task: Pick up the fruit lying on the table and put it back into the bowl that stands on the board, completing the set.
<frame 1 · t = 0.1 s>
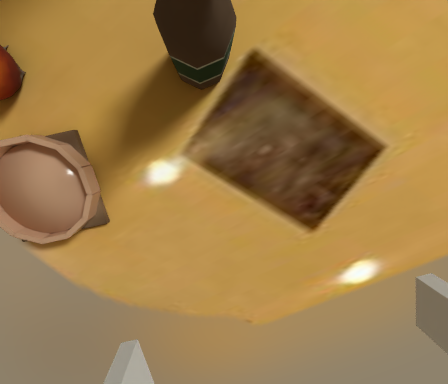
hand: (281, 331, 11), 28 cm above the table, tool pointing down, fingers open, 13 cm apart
beer bottle: (201, 62, 33), on the table
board: (51, 187, 36), on the table
bowl: (46, 188, 35), resting on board
fruit: (2, 73, 32), on the table
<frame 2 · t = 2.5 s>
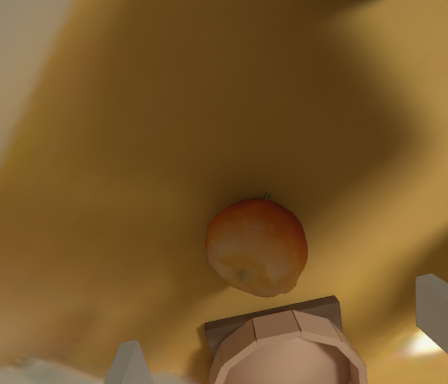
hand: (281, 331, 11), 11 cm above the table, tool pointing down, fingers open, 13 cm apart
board: (280, 363, 26), on the table
bowl: (282, 372, 25), resting on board
fruit: (248, 227, 22), on the table
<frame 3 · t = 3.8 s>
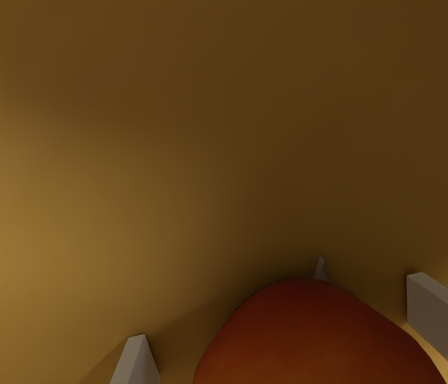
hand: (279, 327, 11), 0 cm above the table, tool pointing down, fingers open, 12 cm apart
fruit: (278, 319, 11), on the table
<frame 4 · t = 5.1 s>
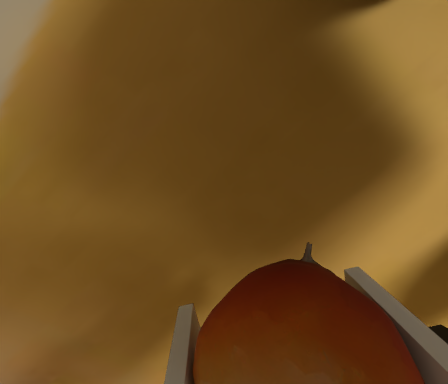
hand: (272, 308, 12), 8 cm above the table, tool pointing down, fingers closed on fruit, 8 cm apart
fruit: (271, 299, 13), point 8 cm above the table, touching gripper
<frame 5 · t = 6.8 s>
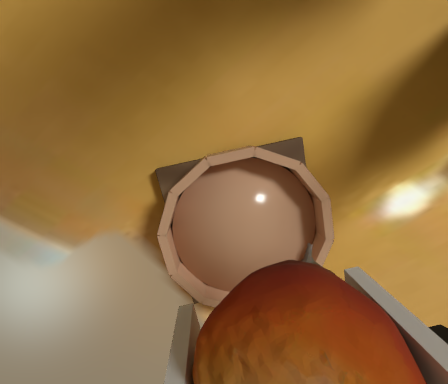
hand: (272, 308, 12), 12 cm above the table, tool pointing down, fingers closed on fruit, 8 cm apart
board: (242, 223, 24), on the table
bowl: (243, 227, 23), resting on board
fruit: (272, 300, 12), point 12 cm above the table, touching gripper
when the fingers open (4 cm above the table, at t = 8.6 s): fruit drops 2 cm, resting on bowl.
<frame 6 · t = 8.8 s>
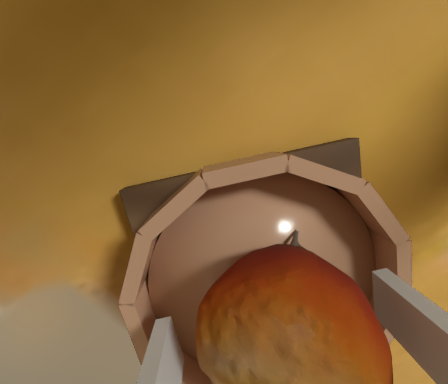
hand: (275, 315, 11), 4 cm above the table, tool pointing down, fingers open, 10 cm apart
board: (258, 268, 16), on the table
bowl: (261, 277, 15), resting on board
fruit: (264, 282, 14), point 2 cm above the table, touching bowl
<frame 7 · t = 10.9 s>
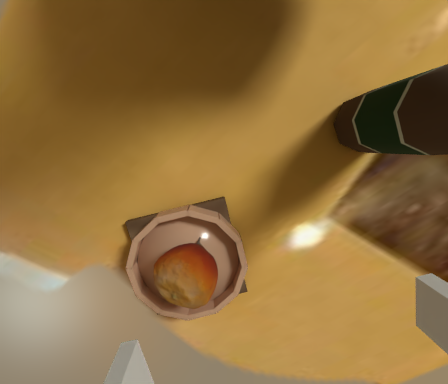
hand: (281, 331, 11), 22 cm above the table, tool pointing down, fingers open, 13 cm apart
beer bottle: (357, 123, 31), on the table
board: (190, 255, 33), on the table
bowl: (189, 258, 32), resting on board
fruit: (189, 260, 32), point 2 cm above the table, touching bowl
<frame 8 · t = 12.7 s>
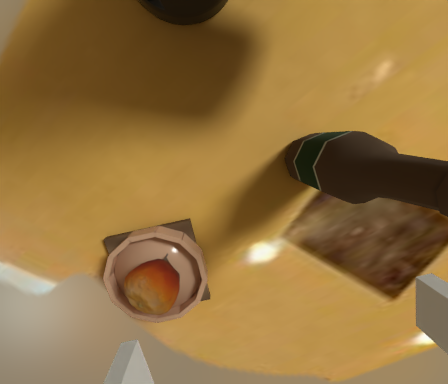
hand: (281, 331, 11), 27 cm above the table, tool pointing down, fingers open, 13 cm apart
beer bottle: (306, 158, 36), on the table
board: (160, 267, 39), on the table
bowl: (159, 270, 38), resting on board
fruit: (158, 272, 37), point 2 cm above the table, touching bowl
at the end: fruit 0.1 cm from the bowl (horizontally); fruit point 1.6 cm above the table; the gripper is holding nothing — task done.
